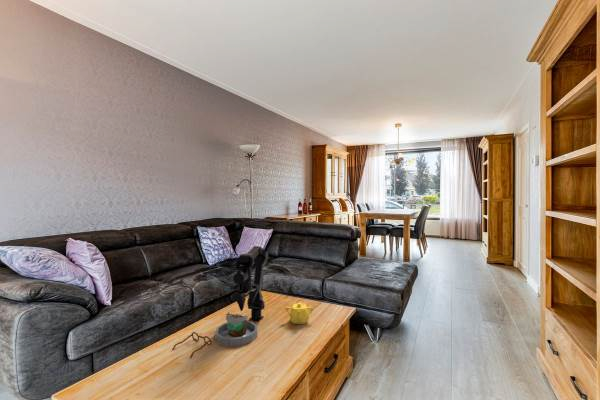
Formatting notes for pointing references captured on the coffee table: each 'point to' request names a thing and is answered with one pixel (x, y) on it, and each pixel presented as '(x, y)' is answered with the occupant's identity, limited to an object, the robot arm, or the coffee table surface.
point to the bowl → (227, 340)
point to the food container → (236, 324)
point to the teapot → (299, 313)
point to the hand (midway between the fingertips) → (246, 307)
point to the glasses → (196, 340)
